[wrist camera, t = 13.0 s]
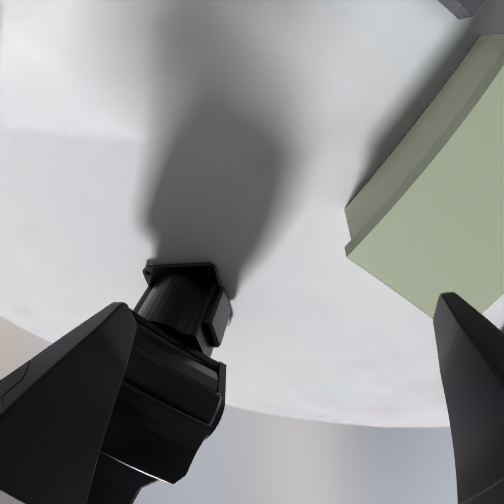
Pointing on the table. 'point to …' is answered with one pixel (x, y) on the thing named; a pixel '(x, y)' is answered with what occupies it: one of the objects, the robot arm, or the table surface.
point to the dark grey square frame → (462, 7)
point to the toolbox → (442, 194)
